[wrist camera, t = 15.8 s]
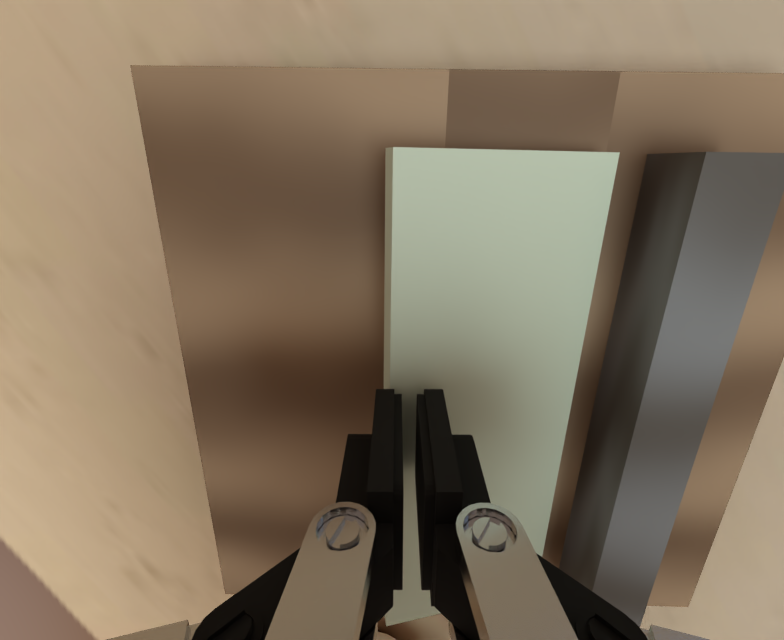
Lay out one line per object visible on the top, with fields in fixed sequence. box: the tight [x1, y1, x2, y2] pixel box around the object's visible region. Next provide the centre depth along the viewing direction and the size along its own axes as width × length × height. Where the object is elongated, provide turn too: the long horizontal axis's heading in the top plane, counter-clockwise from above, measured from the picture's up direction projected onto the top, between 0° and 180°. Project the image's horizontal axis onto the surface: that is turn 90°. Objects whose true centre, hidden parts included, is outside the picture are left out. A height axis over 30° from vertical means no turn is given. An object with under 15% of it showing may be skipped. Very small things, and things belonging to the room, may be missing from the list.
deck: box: [130, 65, 784, 627], centre depth 15 cm, size 20×20×6 cm
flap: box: [384, 147, 620, 626], centre depth 13 cm, size 16×6×1 cm, turn 179°
